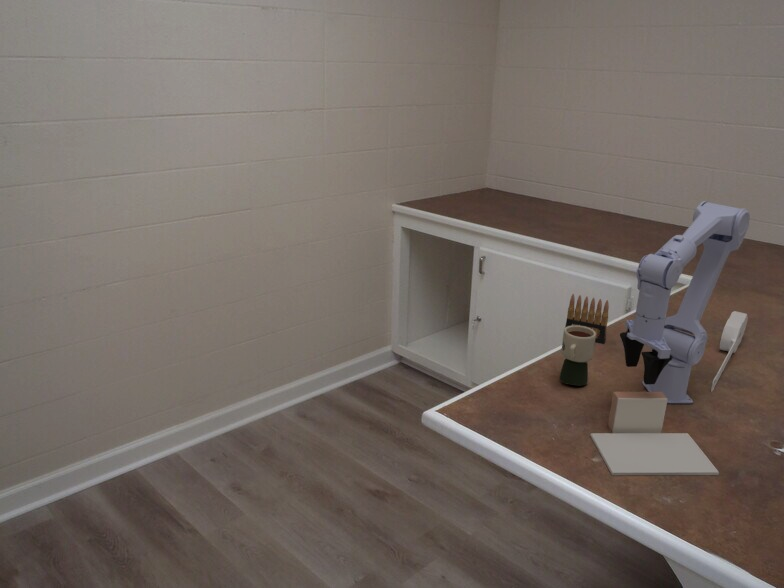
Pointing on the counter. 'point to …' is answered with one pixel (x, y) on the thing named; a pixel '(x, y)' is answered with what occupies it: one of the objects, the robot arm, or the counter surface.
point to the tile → (637, 412)
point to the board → (652, 454)
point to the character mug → (577, 354)
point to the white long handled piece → (731, 338)
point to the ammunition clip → (589, 317)
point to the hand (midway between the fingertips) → (640, 374)
